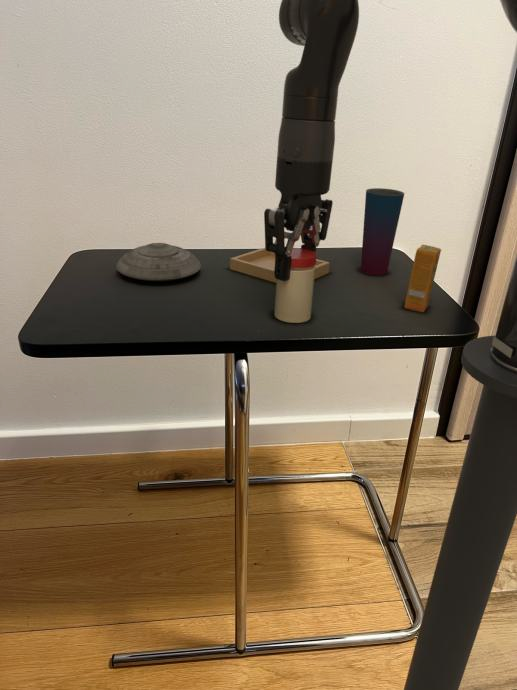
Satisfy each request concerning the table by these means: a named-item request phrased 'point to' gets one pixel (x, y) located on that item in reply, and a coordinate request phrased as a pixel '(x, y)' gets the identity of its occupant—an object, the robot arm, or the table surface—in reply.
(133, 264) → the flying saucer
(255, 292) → the table surface
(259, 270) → the tray
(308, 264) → the lid
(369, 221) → the cup
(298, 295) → the jar
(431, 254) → the supplement box
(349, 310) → the table surface
